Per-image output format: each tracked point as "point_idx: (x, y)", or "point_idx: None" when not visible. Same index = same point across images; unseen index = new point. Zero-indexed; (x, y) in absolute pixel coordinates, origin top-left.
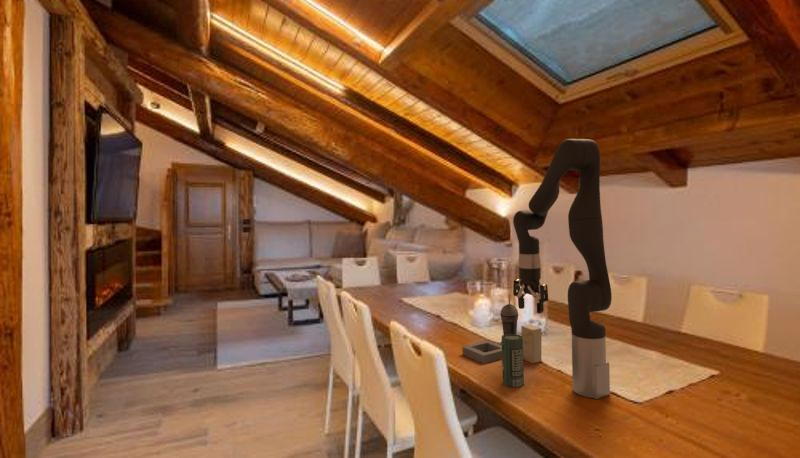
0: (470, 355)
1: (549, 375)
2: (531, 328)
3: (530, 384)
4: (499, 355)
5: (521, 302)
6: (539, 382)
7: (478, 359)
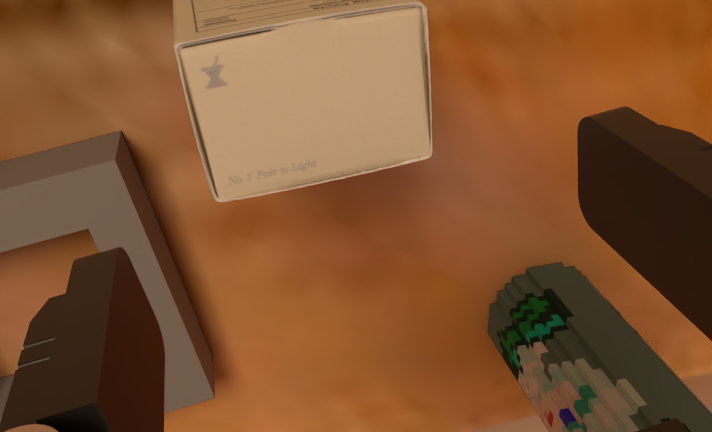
0: None
1: (568, 66)
2: (372, 137)
3: (595, 237)
4: (164, 255)
5: (144, 405)
6: None
7: None
